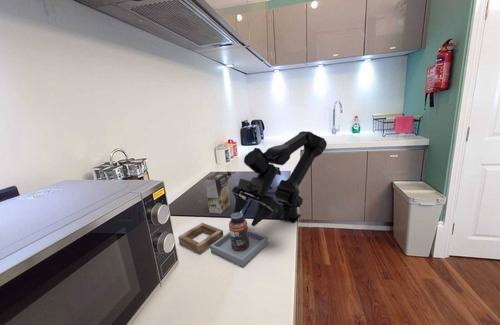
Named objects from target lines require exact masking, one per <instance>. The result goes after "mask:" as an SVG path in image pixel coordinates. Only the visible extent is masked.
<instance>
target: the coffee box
mask: <svg viewBox="0 0 500 325" xmlns="http://www.w3.org/2000/svg"><path fill="white" fill-rule="evenodd" d="M205 186H206V187H205V188H206V195H207V196H206V197H207V203H208V204H207V205H208V210H209V211H208V212H209V213H211V214H223V213H224V212H225V211H226V210H227V209H228V208H229V207H230V206H231V201H230V200H231V198H230V191H229V180H228V173H226V172H215V173H213V174H211V175H209V176H208V177H206V178H205Z"/></svg>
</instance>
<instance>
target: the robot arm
mask: <svg viewBox="0 0 500 325" xmlns="http://www.w3.org/2000/svg"><path fill="white" fill-rule="evenodd" d="M327 144H328V143H327V140H325V138H324V137H321V136H320V135H317V134H314V133H313V132H312V131H307V130H306V131H304V130H303V131H300V132H298V133H297V134H296V135H294V136H293V137H292V138H290V139H289V140H287V141H286V142H284V143H282V144H280V145H274V146H271V147H269V148H267V149H266V151H264V152H263V151H262V149H261V148H259V147H254V148H253V149H252V150H251V151H249V152H248V153H247V154H245V156H244V159H243V163H244V165H246V166H247V167H248V168H249V169H250V170H252V171H253V172H254V173H255V174H257V175H256V177H252V178H251V179H245V178H241V177H240V178H239V180H238V185H235V186H233V187H232V190H231V193H233V194H232V195H233V196H234V199H235V205H234V209H233V210H234V211H233V213H242V211H243V209H244V208H245V206H246V205H247V204H248V203H249V201H248V200H249V199H250V200H252V201H255V202H258V204H257V205H258V206H257V211H256V212H255V215H254V217H253V219H252V222H251V227H255V226H256V225H258V224H259V223H260V222H261V221H263V220H264V219H265V218H267V217H269V216H270V215H271V214H275V212H277V213H279V211H280V209H281V204H282V214H281V216H280V217H279V219H280V220H282V221H283V220H284V221H286V222H291V223H293V224H294V223H295V222H296V221H297V220H299V218H301V217H302V215H301V214H300V213H298V208H300V207H301V206H302V205H303V201H304V199H303V197H301V196H300V185H301V183H302V181H303V180H304V177H306V174H307V172H308V171H309V169H310V167H311V166H312V164H313V162H314V160H315V159H316V158H317V157H319V156H321V155H322V154H323V152H324V151H325V150H326V148H327ZM302 147H303V153H302V155H301V157H300V158H299V160H298V162H297V163H296V165H295V167H294V168H293V170H292V172H291V174H290V175H289V176H288V178H287V179H286V180H284V179H281V180H280V182H279V183H278V185H277V186H276V187H275V188H276V189H275V192H274V195H275V198H276V199H275V198H274V197H272V196H269V195H267V193H268V192H269V190H270V191H272V189H273V186H272V184H273V183H274V182H273V181H274V179H275V178H276V176H281V175H282V172H281V170H280V167H279V166H284V165H285V164H287V162H289V160H290V159H291V155H292V154H293V153H295V152H296V151H298V150H299V149H301V148H302ZM275 165H277V166H275Z"/></svg>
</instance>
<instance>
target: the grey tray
mask: <svg viewBox="0 0 500 325" xmlns="http://www.w3.org/2000/svg"><path fill="white" fill-rule="evenodd" d="M248 236H249V246H248V248H246V249H245V250H242V251H237V250H234V249H233V248H232V245H231V238H230V231H229V232H227V233H225V235H224V234H223V237H221V238H220V239H219V240H217V241H216V242H214V243H213V244H212V245H210V248H209V249H210V253H212V254H213V255H216V256H218V257H220V258H221V259H225V260H226V261H229V262H231V263H232V264H235V265H237V266H239V267H241V268H245V267H246V266H247V265H248V264H249V263H250V262H251V261H252V260H253V259H254V258H255V257H256V256H257V255H259V253H260V252H262V251H263V249H264V248H265V247H266V246H268V245H269V236H266V235H264V234H260V233H258V232H256V231H252V230H249V229H248Z"/></svg>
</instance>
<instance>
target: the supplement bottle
mask: <svg viewBox="0 0 500 325" xmlns="http://www.w3.org/2000/svg"><path fill="white" fill-rule="evenodd" d="M248 227H249V226H248V222H247V220H246V219H245V218H244V214H243V213H242V212H240V213H234V212H233V213H232V214H230V221H229V223H228V228H229V229H228V230H229V232H230V238H231V245H232V248H233V249H234V250H237V251H242V250H245V249H246V248H248V246H249V236H248V230H249V228H248Z"/></svg>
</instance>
